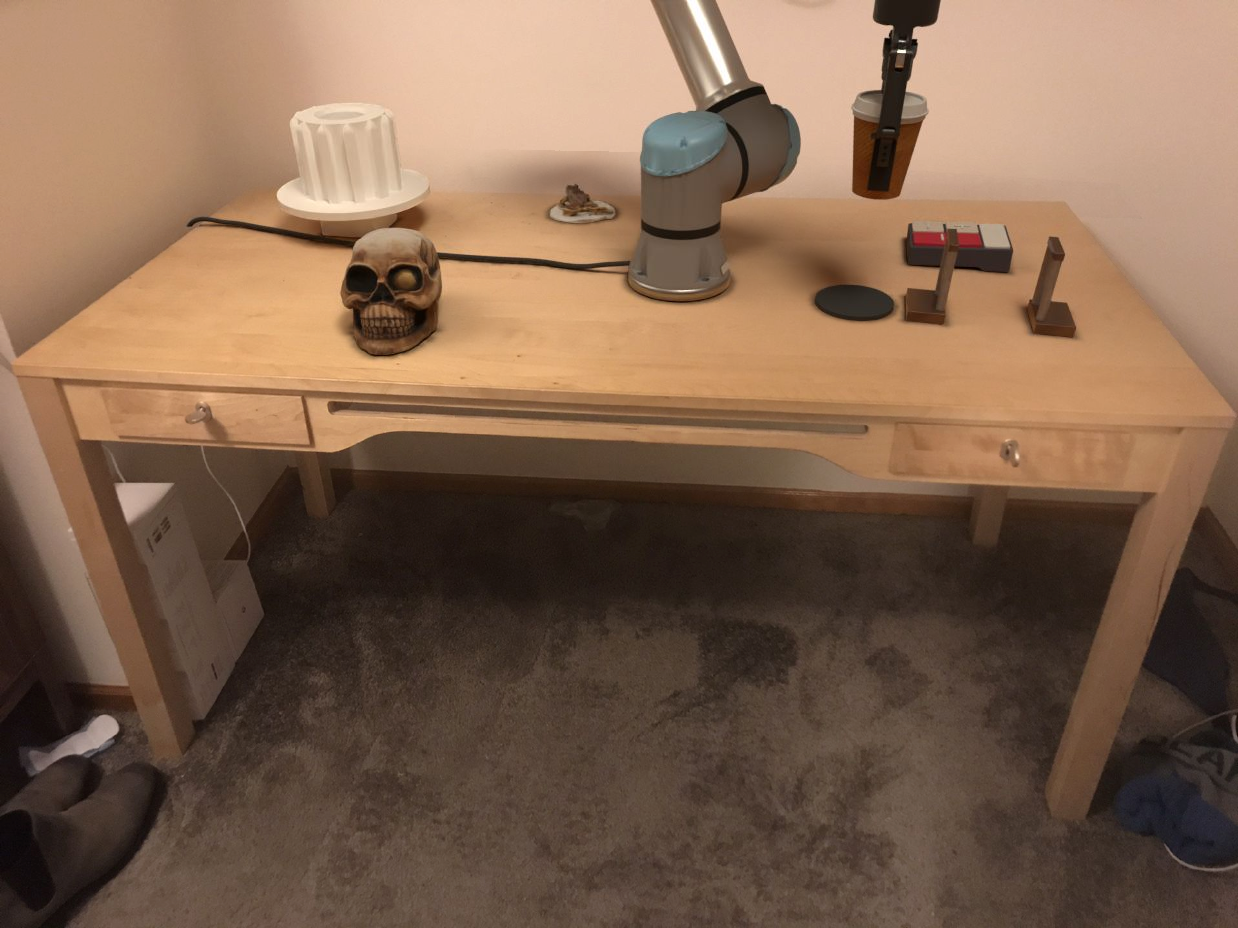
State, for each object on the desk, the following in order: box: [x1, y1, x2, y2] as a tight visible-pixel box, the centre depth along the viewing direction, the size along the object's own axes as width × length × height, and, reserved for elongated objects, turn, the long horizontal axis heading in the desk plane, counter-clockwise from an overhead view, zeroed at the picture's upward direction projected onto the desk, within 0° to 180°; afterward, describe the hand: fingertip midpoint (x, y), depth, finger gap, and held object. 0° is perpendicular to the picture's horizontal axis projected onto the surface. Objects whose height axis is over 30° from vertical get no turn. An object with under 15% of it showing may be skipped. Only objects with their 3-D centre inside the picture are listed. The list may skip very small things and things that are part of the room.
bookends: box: [905, 229, 1077, 338], centre depth 122 cm, size 22×8×11 cm, turn 76°
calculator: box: [906, 220, 1014, 273], centre depth 142 cm, size 11×4×15 cm
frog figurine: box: [549, 183, 616, 224], centre depth 160 cm, size 12×12×4 cm
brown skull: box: [339, 227, 443, 356], centre depth 122 cm, size 16×17×13 cm
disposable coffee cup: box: [850, 89, 930, 201], centre depth 116 cm, size 10×10×12 cm
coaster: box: [814, 283, 895, 321], centre depth 129 cm, size 11×11×1 cm
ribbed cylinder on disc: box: [276, 101, 431, 239], centre depth 150 cm, size 25×25×19 cm
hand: (878, 179), depth 119 cm, fingers closed on disposable coffee cup, 8 cm apart
